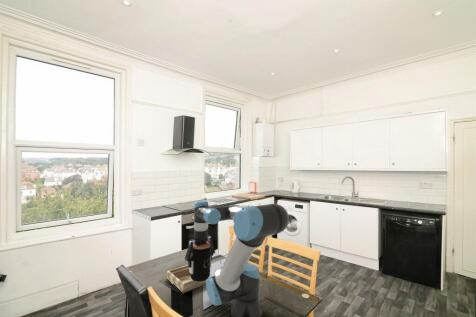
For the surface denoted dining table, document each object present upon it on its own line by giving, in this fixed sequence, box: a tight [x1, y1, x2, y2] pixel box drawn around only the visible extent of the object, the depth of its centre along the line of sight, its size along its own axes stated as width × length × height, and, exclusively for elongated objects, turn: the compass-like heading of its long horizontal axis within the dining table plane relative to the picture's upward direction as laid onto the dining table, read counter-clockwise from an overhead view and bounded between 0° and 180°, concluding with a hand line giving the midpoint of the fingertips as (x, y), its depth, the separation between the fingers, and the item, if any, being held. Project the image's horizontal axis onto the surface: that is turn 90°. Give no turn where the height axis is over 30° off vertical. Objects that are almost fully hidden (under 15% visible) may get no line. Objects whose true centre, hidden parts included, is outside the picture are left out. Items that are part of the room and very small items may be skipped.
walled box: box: [166, 264, 207, 294], centre depth 144 cm, size 20×16×5 cm
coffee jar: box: [190, 241, 211, 282], centre depth 128 cm, size 11×11×18 cm
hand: (200, 269), depth 128 cm, fingers closed on coffee jar, 11 cm apart
